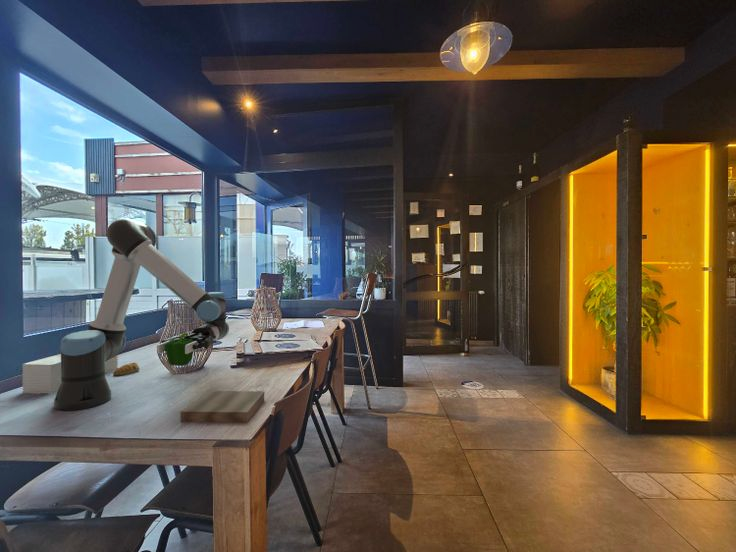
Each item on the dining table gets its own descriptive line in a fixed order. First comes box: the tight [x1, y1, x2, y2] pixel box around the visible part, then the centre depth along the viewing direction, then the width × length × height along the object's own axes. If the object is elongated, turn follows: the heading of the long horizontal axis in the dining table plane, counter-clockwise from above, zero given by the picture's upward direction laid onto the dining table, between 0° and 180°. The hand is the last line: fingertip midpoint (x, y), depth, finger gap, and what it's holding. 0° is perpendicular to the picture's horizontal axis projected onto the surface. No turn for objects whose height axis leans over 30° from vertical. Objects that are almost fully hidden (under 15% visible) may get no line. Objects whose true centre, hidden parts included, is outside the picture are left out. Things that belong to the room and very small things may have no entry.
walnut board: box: [179, 390, 265, 423], centre depth 116 cm, size 20×18×3 cm
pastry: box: [113, 362, 140, 376], centre depth 154 cm, size 9×7×4 cm
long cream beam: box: [22, 353, 119, 395], centre depth 144 cm, size 32×11×11 cm, turn 177°
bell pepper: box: [165, 332, 194, 367], centre depth 116 cm, size 8×8×10 cm
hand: (172, 349), depth 111 cm, fingers closed on bell pepper, 8 cm apart
